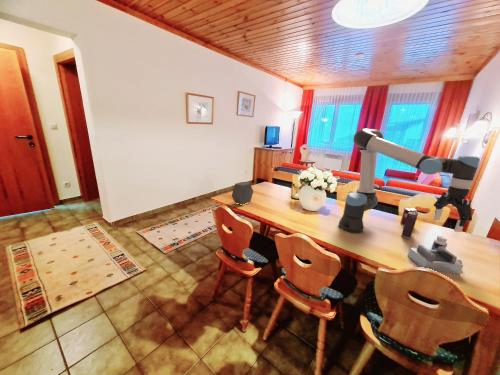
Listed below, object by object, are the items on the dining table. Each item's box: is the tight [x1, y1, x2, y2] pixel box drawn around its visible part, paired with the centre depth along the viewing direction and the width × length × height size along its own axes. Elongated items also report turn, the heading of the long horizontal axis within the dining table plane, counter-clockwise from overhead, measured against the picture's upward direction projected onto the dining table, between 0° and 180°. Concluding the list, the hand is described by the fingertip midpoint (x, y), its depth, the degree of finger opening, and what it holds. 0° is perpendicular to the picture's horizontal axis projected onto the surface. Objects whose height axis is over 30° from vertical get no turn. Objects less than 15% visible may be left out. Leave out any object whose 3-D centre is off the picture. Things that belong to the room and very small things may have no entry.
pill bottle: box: [430, 235, 448, 250], centre depth 112 cm, size 5×5×10 cm
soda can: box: [400, 207, 418, 226], centre depth 146 cm, size 7×7×12 cm
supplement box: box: [400, 210, 419, 240], centre depth 129 cm, size 9×5×16 cm, turn 137°
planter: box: [231, 181, 254, 206], centre depth 171 cm, size 17×8×21 cm
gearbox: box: [407, 244, 464, 275], centre depth 102 cm, size 20×12×8 cm, turn 85°
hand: (446, 225), depth 109 cm, fingers open, 13 cm apart
